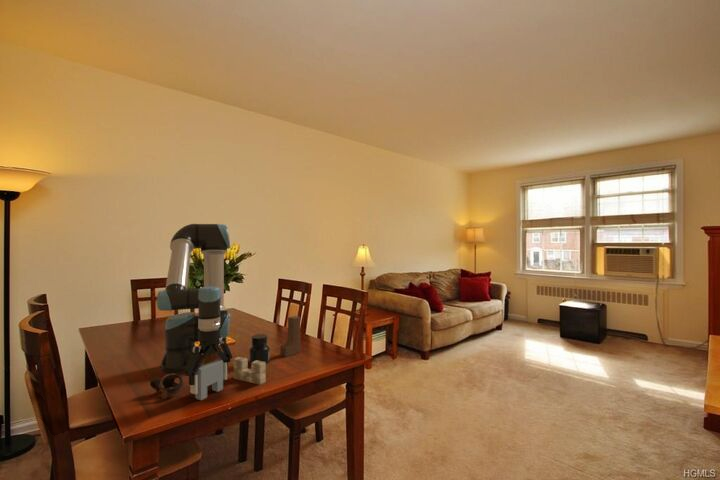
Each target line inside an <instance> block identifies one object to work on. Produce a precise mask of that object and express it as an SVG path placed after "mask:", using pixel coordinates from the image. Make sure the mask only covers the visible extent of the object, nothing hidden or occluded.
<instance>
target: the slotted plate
mask: <svg viewBox="0 0 720 480" xmlns="http://www.w3.org/2000/svg"><path fill="white" fill-rule="evenodd" d="M196 375H198V394H194V396H195V398H196V400H199V401H203V400H205V399H206V398H208V387H209V386H211V390H212V392H213V391H214V392H216V393H217V392H220V391H222V390H224V379H223V360H221V359H218V358H217V359H215V360H212V361H210V362H207V363H205V364H201V366H200V367H199V369H198V371H197V373H196Z"/></svg>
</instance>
